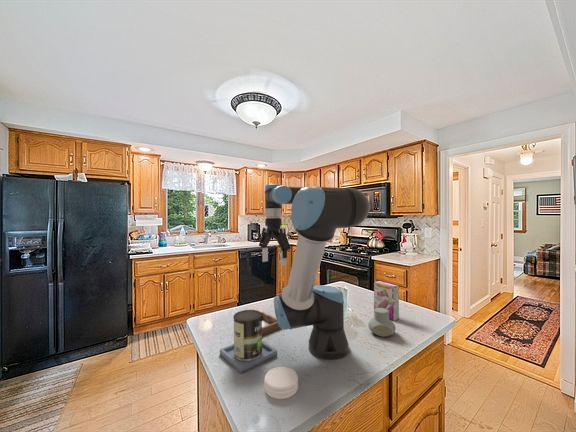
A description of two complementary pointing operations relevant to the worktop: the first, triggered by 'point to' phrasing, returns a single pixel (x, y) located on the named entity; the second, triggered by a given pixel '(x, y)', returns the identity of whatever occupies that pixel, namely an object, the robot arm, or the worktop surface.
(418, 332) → the worktop surface
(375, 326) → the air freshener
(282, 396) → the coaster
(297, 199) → the robot arm
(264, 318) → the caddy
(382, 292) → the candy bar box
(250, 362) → the tray
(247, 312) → the coffee can
